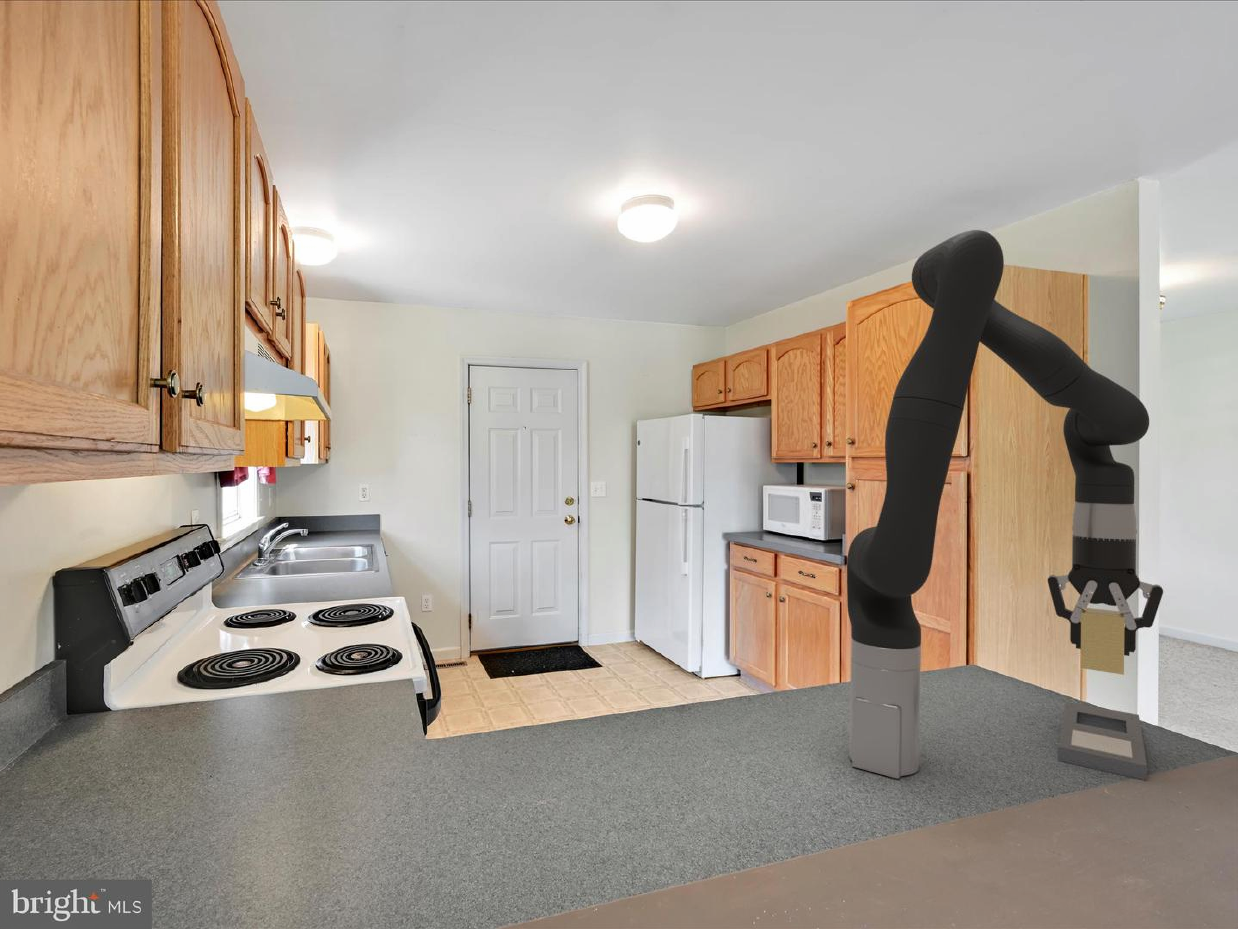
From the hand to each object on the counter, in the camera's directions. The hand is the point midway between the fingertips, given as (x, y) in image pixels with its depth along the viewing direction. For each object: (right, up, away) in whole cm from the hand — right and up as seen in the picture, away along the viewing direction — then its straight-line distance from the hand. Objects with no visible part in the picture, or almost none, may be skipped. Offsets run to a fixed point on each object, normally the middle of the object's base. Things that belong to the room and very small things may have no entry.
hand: (1102, 650), depth 97 cm
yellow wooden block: (0, -2, 0) cm, 2 cm away
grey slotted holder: (+4, -16, +6) cm, 17 cm away
